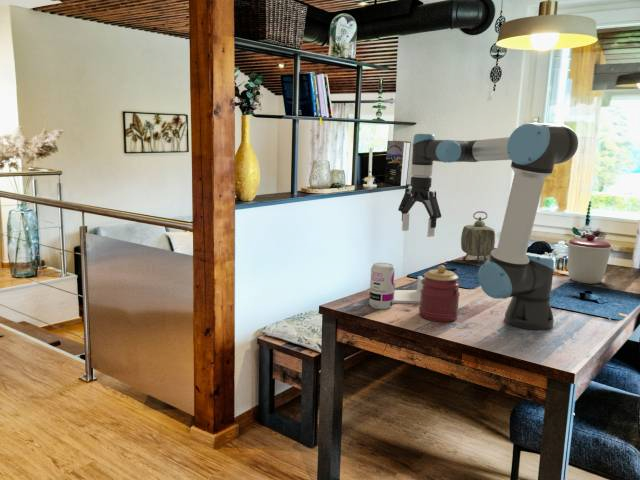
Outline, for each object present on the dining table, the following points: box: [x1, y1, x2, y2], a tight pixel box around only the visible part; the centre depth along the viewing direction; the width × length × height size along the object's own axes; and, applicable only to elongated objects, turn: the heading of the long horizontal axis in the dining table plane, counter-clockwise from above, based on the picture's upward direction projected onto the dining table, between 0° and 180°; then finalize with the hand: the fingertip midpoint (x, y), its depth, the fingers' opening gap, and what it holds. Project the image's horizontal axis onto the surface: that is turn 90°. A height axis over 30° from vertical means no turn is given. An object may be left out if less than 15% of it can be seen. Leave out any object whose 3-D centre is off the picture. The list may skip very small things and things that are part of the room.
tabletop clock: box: [460, 210, 496, 264], centre depth 272 cm, size 14×9×25 cm, turn 94°
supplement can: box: [368, 262, 395, 310], centre depth 195 cm, size 8×8×15 cm
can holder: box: [393, 275, 425, 305], centre depth 207 cm, size 14×14×7 cm
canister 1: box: [418, 264, 461, 323], centre depth 186 cm, size 13×13×18 cm
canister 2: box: [566, 232, 614, 285], centre depth 240 cm, size 18×18×21 cm
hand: (417, 233), depth 208 cm, fingers open, 13 cm apart
